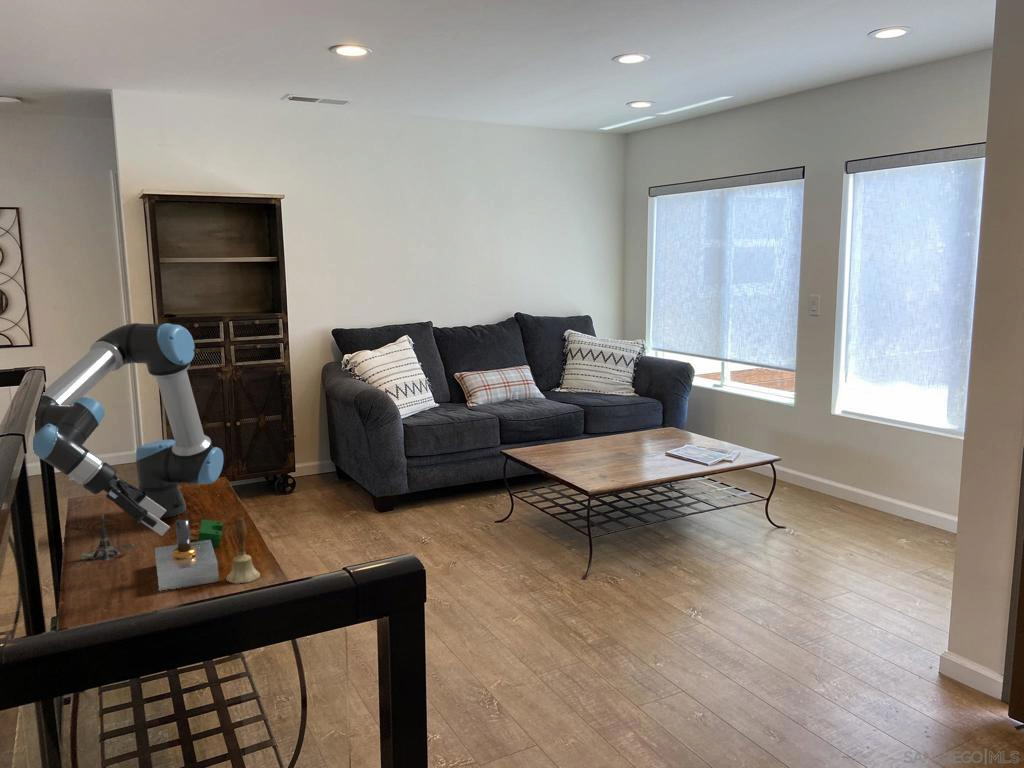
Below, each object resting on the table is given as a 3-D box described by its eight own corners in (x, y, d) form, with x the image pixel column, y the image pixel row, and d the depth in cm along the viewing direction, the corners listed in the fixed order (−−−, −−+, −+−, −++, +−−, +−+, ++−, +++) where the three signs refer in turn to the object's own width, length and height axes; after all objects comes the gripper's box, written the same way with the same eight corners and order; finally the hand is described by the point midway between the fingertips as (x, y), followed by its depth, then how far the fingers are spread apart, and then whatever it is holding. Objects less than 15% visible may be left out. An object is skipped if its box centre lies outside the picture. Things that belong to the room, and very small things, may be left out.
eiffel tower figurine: (134, 545, 224) (130, 501, 222) (138, 557, 216) (134, 511, 214) (74, 556, 217) (70, 510, 214) (76, 568, 208) (72, 521, 206)
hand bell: (231, 571, 206) (227, 513, 203) (263, 570, 207) (260, 512, 204) (222, 584, 198) (218, 524, 195) (255, 583, 198) (252, 523, 196)
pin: (173, 570, 206) (169, 518, 203) (196, 566, 208) (193, 515, 206) (174, 578, 201) (171, 525, 198) (198, 574, 203) (194, 522, 201)
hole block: (156, 565, 209) (154, 547, 208) (211, 556, 215) (210, 539, 215) (159, 591, 193) (157, 572, 193) (218, 581, 200) (217, 562, 199)
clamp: (215, 562, 222) (221, 539, 218) (193, 560, 220) (198, 536, 216) (220, 533, 232) (225, 510, 228) (199, 531, 230) (204, 508, 226)
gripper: (83, 472, 200) (151, 519, 210) (79, 500, 178) (155, 551, 188) (104, 449, 202) (171, 497, 211) (103, 474, 180) (178, 526, 189)
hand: (164, 522), depth 199 cm, fingers open, 13 cm apart
